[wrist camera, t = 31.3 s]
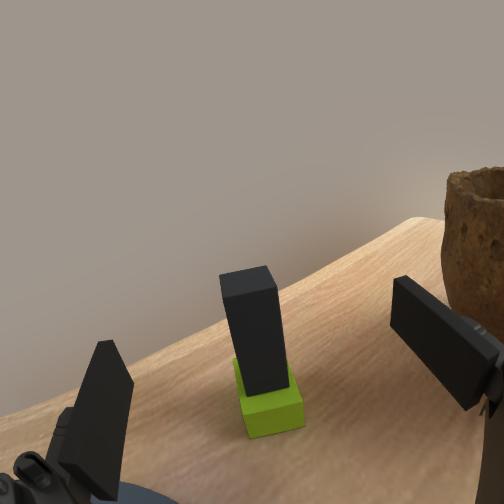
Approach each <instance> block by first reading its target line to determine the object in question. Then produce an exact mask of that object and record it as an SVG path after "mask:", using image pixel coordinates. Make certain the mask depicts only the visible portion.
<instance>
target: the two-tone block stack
mask: <svg viewBox="0 0 504 504" xmlns="http://www.w3.org/2000/svg"><path fill="white" fill-rule="evenodd" d="M219 278H220V285H221V292H222V299H223V303H224V307H225V312H226V315H227V320H228V324H229V329H230V333H231V337H232V341H233V345H234V349H235V353H236V357H237V358H234V359H233V365H234V370H235V376H236V382H237V388H238V393H239V399H240V404H241V410H242V415H243V418H244V422H245V425H246V428H247V431H248V435H249V438H250V439H252V438H257V437H262V436H266V435H271V434H275V433H279V432H284V431H288V430H292V429H295V428H299V427H303V426H305V421H304V407H303V400H302V397H301V394H300V392H299V389H298V387H297V384H296V382H295V379H294V377H293V374H292V372H291V369H290V367H289V364H288V361H287V359H286V351H285V343H284V335H283V327H282V319H281V311H280V304H279V296H278V289H277V285H276V283H275V281H274V279H273V277H272V275H271V274H270V272H269V270H268V268H267V266H260V267H256V268H251V269H246V270H241V271H236V272H231V273H226V274H221V275H219Z"/></svg>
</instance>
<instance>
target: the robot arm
mask: <svg viewBox="0 0 504 504" xmlns="http://www.w3.org/2000/svg"><path fill="white" fill-rule="evenodd" d="M390 327H391V328H392V329H393V330H394V331H395V332H396V333H397V334H398V335H399V336H400V337H401V338H402V340H403V341H404V342H405V343H406V344H407V345H408V346H409V347H410V348H411V349H412V350H413V352H414V353H415V354H416V355H417V356H418V357H419V358H420V359H421V361H422V362H423V363H424V364H425V365H426V366H427V367H428V368H429V370H430V371H431V372H432V373H433V374H434V375H435V376H436V377H437V379H438V380H439V381H440V382H441V383H442V384H443V386H444V387H445V388H446V389H447V390H448V391H449V392H450V394H451V395H452V396H453V397H454V398H455V400H456V401H457V402H458V403H459V404H460V405H461V407H462V408H463V409H464V410H465V411H467V410H469V409H470V408H472V407H473V406H475V405H476V404H478V403H479V401H480V399H481V397H482V395H483V393H484V394H485V395H486V396H487V399H486V401H485V403H484V405H483V407H482V409H481V411H480V414H479V415H480V416H482V414H483V412H484V410H485V429H484V443H483V454H482V463H481V471H480V478H479V484H478V490H477V496H476V501H475V504H504V344H502V343H501V342H500V341H499V340H498V339H497V338H495V337H494V336H493V335H492V334H491V333H489V332H487V330H486V329H485V328H483V327H481V325H480V324H478V323H477V322H476V321H475V320H473V319H471V318H469V317H467V316H464V315H462V316H460V317H459V316H458V315H457V314H456V313H454V312H453V311H452V310H451V309H449V308H448V307H447V306H446V305H444V304H443V303H442V302H441V301H439V300H438V299H437V298H436V297H434V296H433V295H432V294H430V293H429V292H428V291H426V290H425V289H424V288H423V287H421V286H420V285H419V284H417V283H416V282H415V281H413V280H412V279H411V278H409V277H408V276H407V275H405V276H402V277H398V278H395V279H394V281H393V297H392V309H391V320H390ZM133 388H134V382H133V380H132V378H131V376H130V374H129V373H128V371H127V369H126V367H125V364H124V362H123V360H122V358H121V356H120V354H119V352H118V350H117V348H116V346H115V343H114V341H113V340H107V341H100V342H98V343H97V346H96V349H95V351H94V353H93V356H92V358H91V361H90V364H89V366H88V369H87V371H86V374H85V377H84V379H83V382H82V385H81V388H80V390H79V393H78V396H77V399H76V402H75V405H74V407H66V408H65V410H64V411H63V412H62V413H61V415H60V416H59V418H58V421H57V424H56V428H55V430H54V433H53V435H54V436H52V439H51V442H50V445H49V448H48V452H47V455H46V458H45V460H44V459H43V458H42V457H41V456H40V455H39V454H38V453H36V452H34V451H28V452H25V453H22V454H21V455H20V456H19V457H18V458H17V459H16V461H15V463H14V467H13V470H14V474H15V475H16V476H17V477H18V478H19V480H13V479H12V478H11V477H10V476H9V475H8V474H5V473H0V504H93V503H92V502H91V501H90V500H91V494H92V495H93V496H95V497H96V498H97V499H98V500H101V501H115V502H117V501H118V490H119V481H120V472H121V464H122V456H123V449H124V441H125V435H126V428H127V422H128V416H129V410H130V404H131V398H132V393H133Z"/></svg>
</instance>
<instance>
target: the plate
mask: <svg viewBox="0 0 504 504" xmlns="http://www.w3.org/2000/svg"><path fill="white" fill-rule="evenodd" d="M90 501H91V502H92V503H93V504H179V503H177V502H175V501H173V500H172V499H170V498H168V497H166V496H164V495H162V494H159V493H157V492H155V491H152V490H150V489H147V488H144V487H141V486H138V485H134V484H130V483H125V482H121V481H119V490H118V501H117V502H115V501H101V500H98V499H97V498H96V497H95V496H93V495H92V494H91V500H90Z"/></svg>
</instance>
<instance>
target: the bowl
mask: <svg viewBox="0 0 504 504" xmlns="http://www.w3.org/2000/svg"><path fill="white" fill-rule="evenodd" d="M444 212H445V232H444V237H443V242H442V247H441V266H442V273H443V280H444V285H445V289H446V293H447V297H448V302H449V304H450V306H451V309H452V311H453V312H454V313H456V314H457V315H458V316H459V317H460V316H462V315H464V316H467V317H469V318H471V319H473V320H475V321H476V322H477V323H478V324H480V325H481V327H483V328H485V329H486V330H487V332H489V333H491V334H492V335H493V336H494V337H495V338H497V339H498V340H499V341H500V342H501V343H502V344H504V167H502V168H501V167H493V168H490V169H489V168H487V167H485V168H482V169H480V170H475V171H472V172H470V173H469V172H466V171H462V172H454V173H451V174H450V175H449V177H448V179H447V193H446V200H445V211H444Z"/></svg>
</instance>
